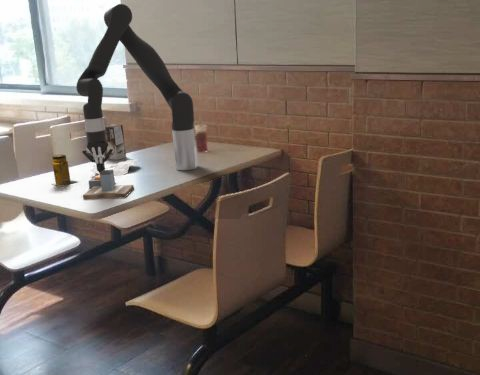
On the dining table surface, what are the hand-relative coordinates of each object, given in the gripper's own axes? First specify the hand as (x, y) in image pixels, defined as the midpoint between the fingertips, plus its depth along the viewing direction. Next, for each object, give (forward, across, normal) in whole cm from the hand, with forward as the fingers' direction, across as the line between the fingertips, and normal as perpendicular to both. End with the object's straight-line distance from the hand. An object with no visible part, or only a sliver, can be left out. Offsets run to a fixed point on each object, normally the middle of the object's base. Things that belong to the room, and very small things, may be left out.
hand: (101, 172), depth 238 cm
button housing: (+6, 0, 0) cm, 6 cm away
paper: (+6, +3, -24) cm, 25 cm away
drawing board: (+6, -6, +13) cm, 15 cm away
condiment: (+6, +18, -6) cm, 20 cm away
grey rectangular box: (+4, -7, +13) cm, 15 cm away
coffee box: (+6, +10, -52) cm, 53 cm away
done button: (+5, 0, 0) cm, 5 cm away
